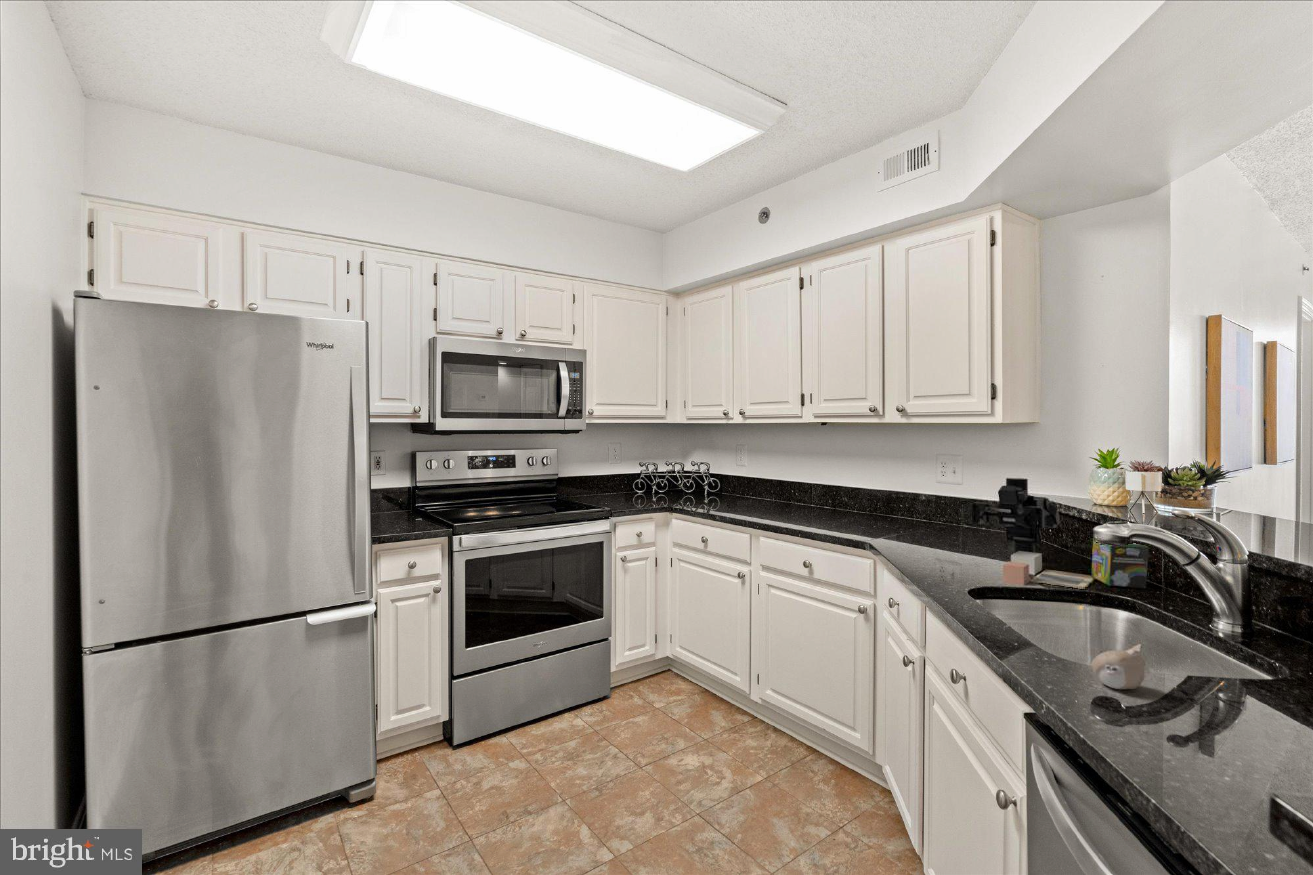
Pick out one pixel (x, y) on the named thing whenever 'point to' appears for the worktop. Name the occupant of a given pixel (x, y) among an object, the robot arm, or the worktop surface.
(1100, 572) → the chalk box
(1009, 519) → the robot arm
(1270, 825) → the worktop surface
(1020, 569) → the pink cube
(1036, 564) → the base brick
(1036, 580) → the board
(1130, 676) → the beige toy figurine
